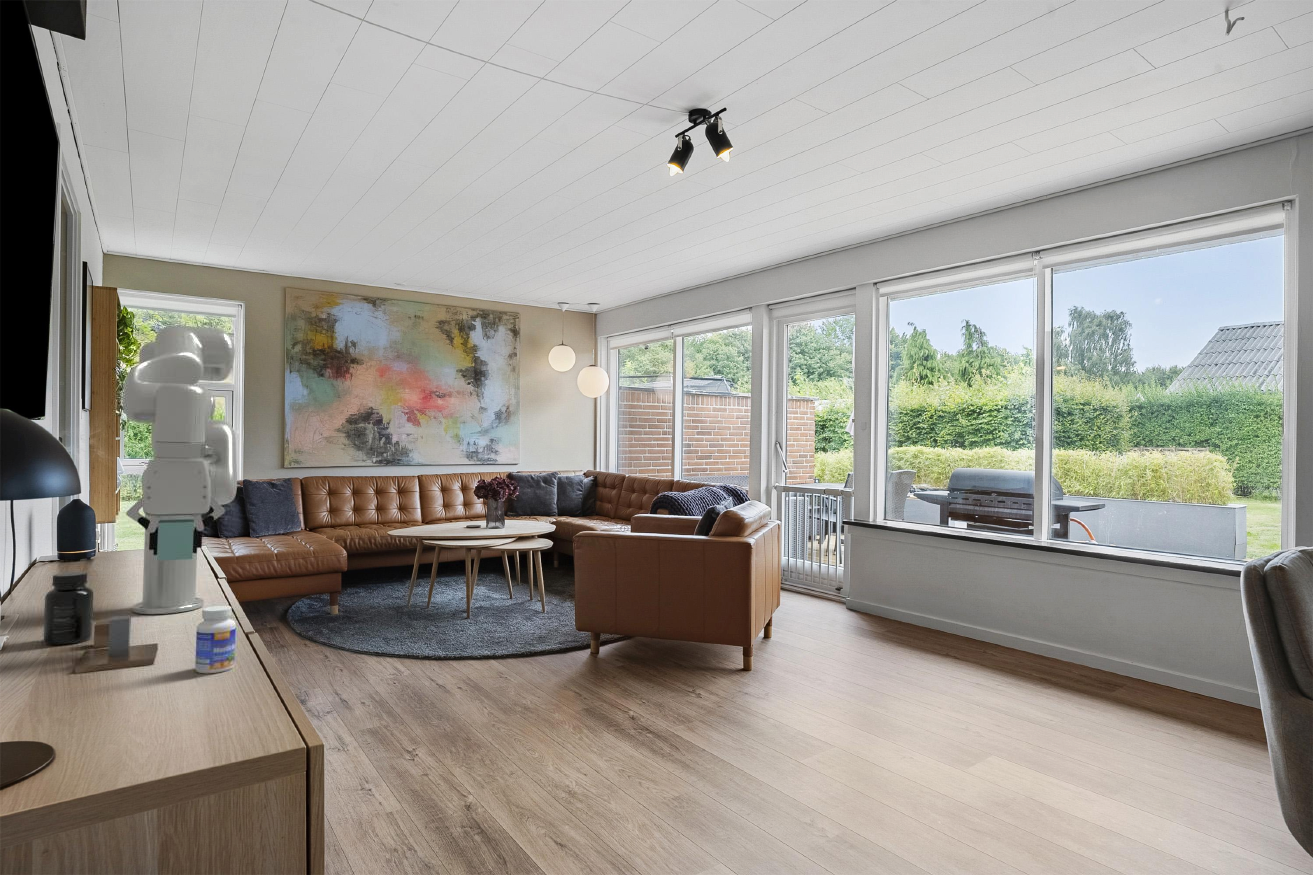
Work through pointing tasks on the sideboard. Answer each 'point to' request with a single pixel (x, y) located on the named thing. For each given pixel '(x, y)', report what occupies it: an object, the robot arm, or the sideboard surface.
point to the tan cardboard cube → (101, 634)
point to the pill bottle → (215, 640)
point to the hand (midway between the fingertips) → (175, 551)
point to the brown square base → (117, 650)
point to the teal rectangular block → (175, 539)
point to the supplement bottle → (68, 610)
